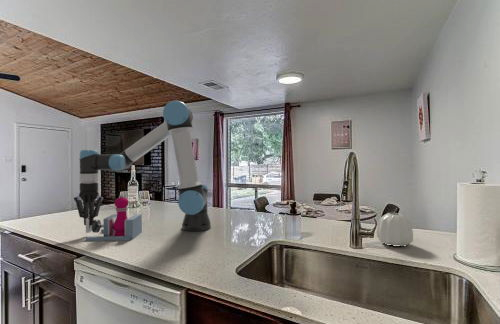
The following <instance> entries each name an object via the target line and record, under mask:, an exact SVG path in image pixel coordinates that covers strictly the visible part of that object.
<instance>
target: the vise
mask: <svg viewBox="0 0 500 324" xmlns="http://www.w3.org/2000/svg"><path fill="white" fill-rule="evenodd" d="M142 215H143V214H139V213H137V214H133V215H132V216H130V217H127V218H128V219H126V220H125V236H115V235H113V236H104V235H103V236H97V235H96V236H86V238H85V241H86V242H87V241H88V242H98V241H99V242H102V241H104V242H106V241H105V240H120V241H130V240H134V239H135V238H136V237H138V236H139V235H140V234H142V232H143V216H142ZM101 232H104V228H100V233H101Z"/></svg>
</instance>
